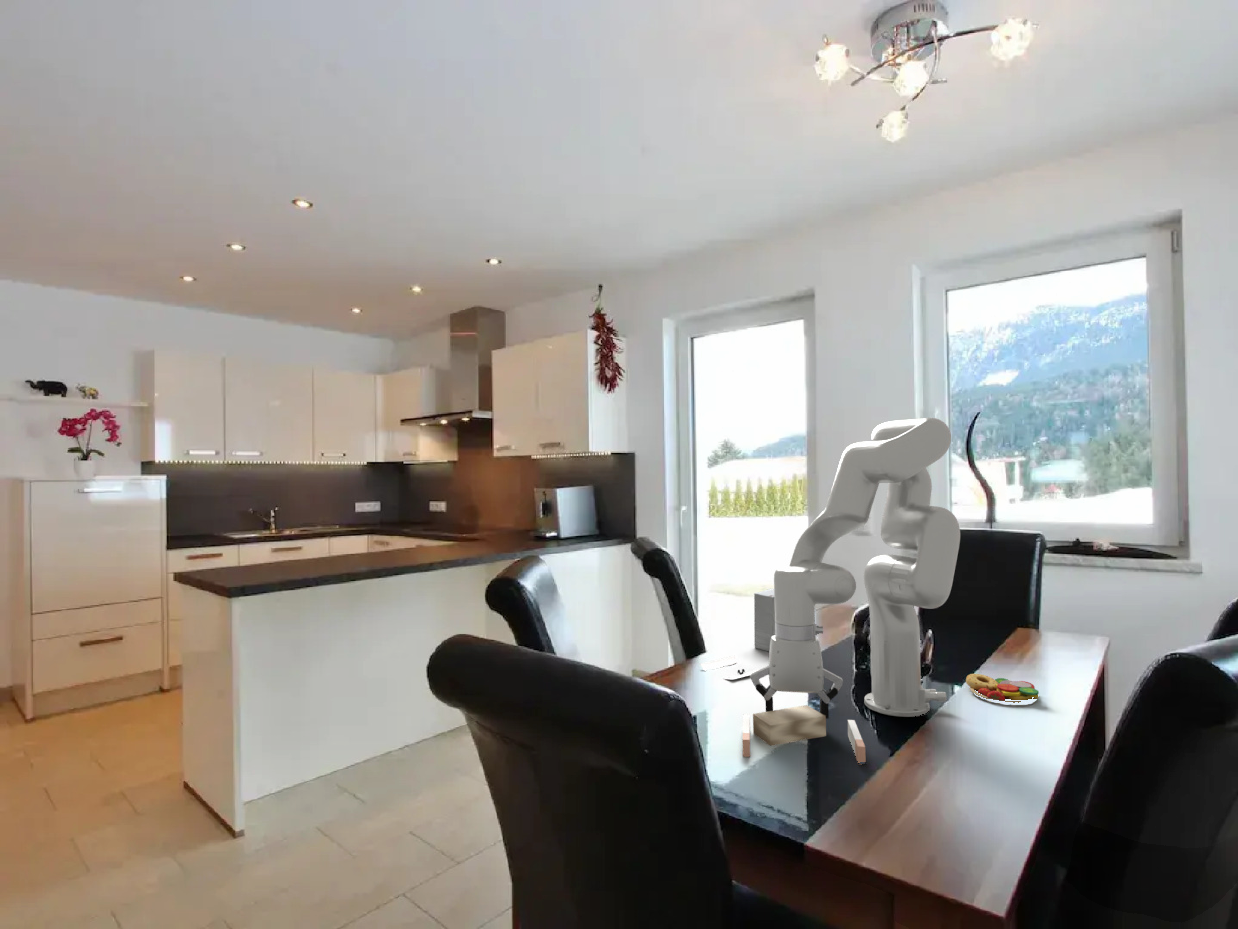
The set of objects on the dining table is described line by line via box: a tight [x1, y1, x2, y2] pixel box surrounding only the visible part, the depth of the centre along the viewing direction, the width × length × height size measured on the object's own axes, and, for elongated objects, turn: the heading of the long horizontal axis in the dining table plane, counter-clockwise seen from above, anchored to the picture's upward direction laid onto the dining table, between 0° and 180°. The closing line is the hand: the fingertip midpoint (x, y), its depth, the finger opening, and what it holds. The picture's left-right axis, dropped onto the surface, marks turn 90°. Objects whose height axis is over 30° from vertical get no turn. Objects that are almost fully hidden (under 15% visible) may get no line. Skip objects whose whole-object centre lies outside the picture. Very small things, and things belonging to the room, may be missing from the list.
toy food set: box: [965, 673, 1040, 703], centre depth 142 cm, size 13×13×3 cm
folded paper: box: [699, 655, 759, 680], centre depth 164 cm, size 12×12×2 cm
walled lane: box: [742, 713, 867, 764], centre depth 119 cm, size 20×12×3 cm, turn 79°
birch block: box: [752, 704, 827, 747], centre depth 124 cm, size 12×6×4 cm, turn 109°
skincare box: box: [753, 588, 775, 652], centre depth 184 cm, size 8×7×16 cm
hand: (796, 720), depth 127 cm, fingers open, 9 cm apart
